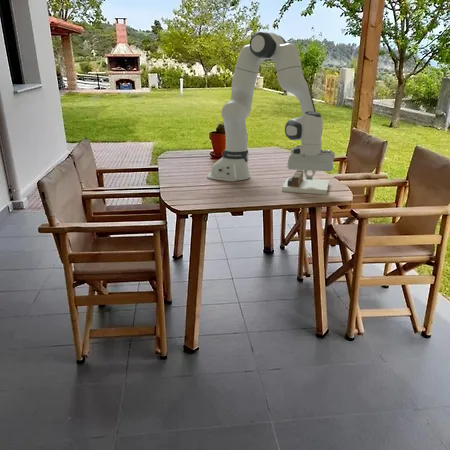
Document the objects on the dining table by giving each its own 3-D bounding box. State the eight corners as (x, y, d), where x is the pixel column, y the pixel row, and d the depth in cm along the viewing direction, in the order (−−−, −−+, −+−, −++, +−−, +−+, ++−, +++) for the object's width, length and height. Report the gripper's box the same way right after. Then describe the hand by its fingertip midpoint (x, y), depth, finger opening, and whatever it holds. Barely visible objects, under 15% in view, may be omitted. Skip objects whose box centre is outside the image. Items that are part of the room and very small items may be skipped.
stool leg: (296, 177, 201) (297, 169, 199) (303, 178, 200) (303, 170, 198) (291, 186, 186) (291, 178, 184) (298, 187, 185) (298, 178, 184)
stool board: (281, 191, 187) (282, 181, 185) (287, 181, 203) (288, 172, 201) (326, 194, 181) (327, 184, 180) (328, 184, 198) (329, 175, 196)
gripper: (335, 149, 181) (333, 179, 186) (289, 147, 187) (288, 176, 192) (334, 151, 176) (332, 182, 181) (287, 150, 181) (286, 180, 186)
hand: (309, 179), depth 186 cm, fingers closed
